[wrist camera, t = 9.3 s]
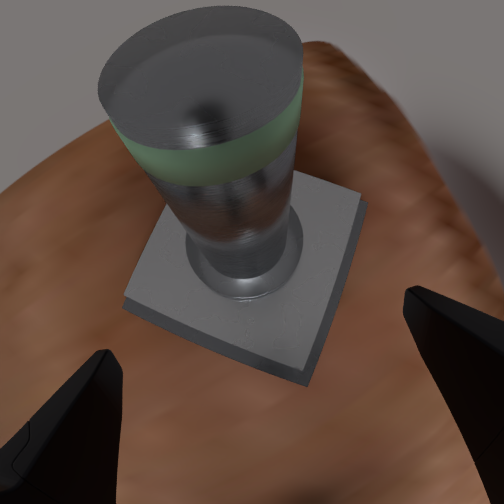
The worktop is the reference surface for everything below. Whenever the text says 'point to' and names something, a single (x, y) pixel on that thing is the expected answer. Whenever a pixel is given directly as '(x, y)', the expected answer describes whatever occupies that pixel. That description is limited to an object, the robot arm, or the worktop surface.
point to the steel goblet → (217, 137)
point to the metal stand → (264, 308)
